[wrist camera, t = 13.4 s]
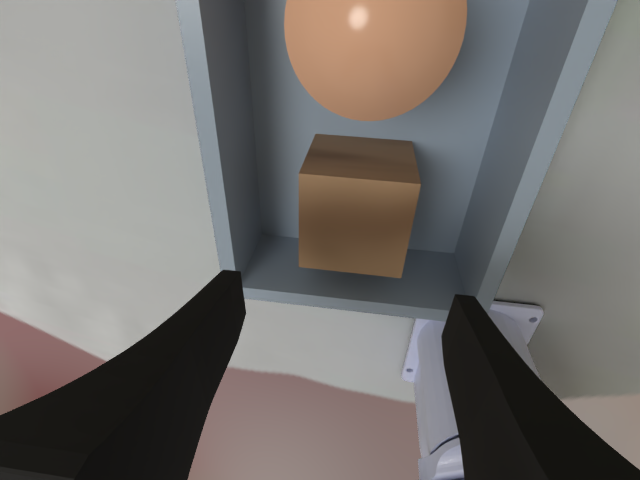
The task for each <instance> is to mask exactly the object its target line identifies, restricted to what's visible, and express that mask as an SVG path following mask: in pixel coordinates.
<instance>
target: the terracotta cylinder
mask: <svg viewBox="0 0 640 480" xmlns="http://www.w3.org/2000/svg"><path fill="white" fill-rule="evenodd" d="M466 21H467V0H287V1H286V7H285V17H284V31H285V41H286V47H287V52H288V55H289V59H290V62H291V64H292V67H293V69H294V71H295V74H296V75H297V77H298V79H299V81H300V82H301V84H302V85H303V87H304V88H305V89H306V91H307V92H308V93H309V94H310V95H311V96H312V97H313V98H314V99H315V100H316V101H317V102H318V103H319V104H321V105H322V106H323V107H325V108H326V109H328V110H330V111H331V112H333V113H335V114H337V115H340V116H342V117H345V118H349V119H353V120H359V121H379V120H385V119H389V118H393V117H396V116H399V115H401V114H404V113H406V112H408V111H410V110H412V109H413V108H415V107H416V106H418V105H419V104H421V103H422V102H424V101H425V100H426V99H427V98H428V97H429V96H430V95H432V94H433V92H434V91H435V90H436V89H437V88H438V87H439V86H440V85H441V83H442V82H443V81H444V79H445V78H446V77H447V75H448V74H449V72H450V70H451V68H452V67H453V65H454V63H455V61H456V58H457V56H458V54H459V51H460V48H461V45H462V42H463V39H464V34H465V28H466Z"/></svg>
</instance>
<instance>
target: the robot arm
mask: <svg viewBox="0 0 640 480" xmlns="http://www.w3.org/2000/svg"><path fill="white" fill-rule="evenodd" d="M245 315H246V309H245V302H244V294H243V286H242V278H241V271H233V270H222V271H221V272H220V273H219V274H218V275H217V276H216V277H215V278H213V279H212V280H211V281H210V282H209V283H208V284H207V285H206V286H205V287H204V288H203V289H202V290H201V291H200V292H198V293H197V294H196V295H195V296H194V297H193V298H192V299H191V300H190V301H188V302H187V303H186V304H185V305H184V306H183V307H182V308H180V309H179V310H178V311H177V312H176V313H175V314H173V315H172V316H171V317H170V318H168V319H167V320H166V321H165V322H164V323H162V324H161V325H160V326H159V327H157V328H156V329H155V330H153V331H152V332H151V333H149V334H148V335H147V336H145V337H144V338H143V339H141V340H140V341H138V342H137V343H136V344H134V345H133V346H131V347H130V348H128V349H127V350H125V351H124V352H122V353H121V354H119V355H117V356H116V357H114V358H112V359H111V360H109V361H107V362H106V363H104V364H102V365H101V366H99V367H97V368H96V369H94V370H92V371H91V372H89V373H87V374H85V375H83V376H82V377H80V378H78V379H76V380H74V381H72V382H71V383H68V384H66V385H65V386H63V387H61V388H59V389H57V390H55V391H53V392H51V393H49V394H47V395H45V396H43V397H40V398H38V399H36V400H34V401H31V402H29V403H27V404H25V405H23V406H21V407H18V408H16V409H14V410H12V411H10V412H7V413H5V414H2V415H0V480H187V479H188V476H189V472H190V468H191V465H192V462H193V459H194V455H195V452H196V449H197V445H198V442H199V439H200V436H201V432H202V429H203V426H204V423H205V420H206V417H207V414H208V411H209V408H210V405H211V403H212V400H213V398H214V395H215V393H216V391H217V388H218V386H219V384H220V382H221V379H222V377H223V374H224V372H225V370H226V368H227V365H228V363H229V361H230V358H231V356H232V354H233V351H234V349H235V347H236V344H237V342H238V339H239V336H240V333H241V329H242V326H243V322H244V319H245ZM543 315H544V312H543V310H542V308H541V307H540V306H536V305H527V304H518V303H508V302H499V301H493V302H492V305H491V307H490V310H489V312H488V314H487V312H486V311H485V310H484V308H483V307H482V306H481V304H480V303H479V302H478V300H477V299H476V298H475V296H469V295H460V294H455V296H454V299H453V302H452V305H451V308H450V311H449V314H448V317H447V320H446V322H444V321H435V320H426V319H418V318H415V322H414V326H413V329H412V333H411V337H410V341H409V345H408V349H407V353H406V357H405V361H404V365H403V369H402V372H401V378H402V379H403V380H404V381H408V382H414V390H415V401H416V411H417V424H418V435H419V446H420V452H421V457H422V458H420V459H419V460H418V466H419V479H420V480H640V470H639V469H638V468H636V467H635V466H634V465H633V464H631V463H630V462H629V461H628V460H626V459H625V458H624V457H623V456H621V455H620V454H619V453H618V452H617V451H616V450H614V449H613V448H612V447H611V446H609V445H608V444H607V443H606V442H605V441H604V440H603V439H601V438H600V437H599V436H598V435H597V434H596V433H595V432H594V431H592V430H591V429H590V428H589V427H588V426H587V425H586V424H585V423H583V422H582V421H581V420H580V419H579V418H578V417H577V416H576V415H575V414H574V413H573V412H572V411H571V410H570V409H569V408H568V407H567V406H566V405H565V404H564V403H563V402H562V401H561V400H560V399H559V398H558V397H557V396H556V395H555V394H554V393H553V392H552V391H551V390H550V389H549V388H548V387H547V386H546V385H545V384H544V383H543V382H542V381H541V379H540V376H539V374H538V371H537V369H536V366H535V364H534V362H533V359H532V357H531V354H530V352H529V349H528V347H527V345H528V343H529V341H530V339H531V337H532V336H533V334H534V332H535V330H536V328H537V326H538V324H539V323H540V321H541V319H542V317H543ZM532 317H534V318H532Z"/></svg>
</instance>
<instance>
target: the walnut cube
mask: <svg viewBox="0 0 640 480" xmlns="http://www.w3.org/2000/svg"><path fill="white" fill-rule="evenodd" d="M420 187H421V181H420V177H419V172H418V167H417V163H416V158H415V153H414V148H413V144H412V141H405V140H392V139H379V138H366V137H353V136H340V135H327V134H315V136H314V138H313V141H312V143H311V145H310V148H309V150H308V153H307V155H306V157H305V160H304V162H303V164H302V167H301V169H300V171H299V267H303V268H312V269H321V270H330V271H339V272H349V273H358V274H367V275H376V276H385V277H394V278H401V277H402V272H403V267H404V263H405V258H406V253H407V248H408V244H409V239H410V234H411V229H412V225H413V220H414V215H415V211H416V206H417V201H418V196H419V192H420Z"/></svg>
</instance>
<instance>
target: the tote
mask: <svg viewBox="0 0 640 480" xmlns="http://www.w3.org/2000/svg"><path fill="white" fill-rule="evenodd" d="M286 1H287V0H176V6H177V12H178V18H179V24H180V30H181V36H182V42H183V48H184V54H185V60H186V66H187V72H188V78H189V84H190V90H191V96H192V102H193V108H194V114H195V120H196V126H197V132H198V138H199V144H200V150H201V156H202V162H203V168H204V174H205V180H206V186H207V192H208V198H209V204H210V210H211V217H212V223H213V229H214V235H215V241H216V247H217V253H218V259H219V265H220V271H222V270H233V271H241V278H242V286H243V294H244V299H253V300H261V301H270V302H279V303H287V304H296V305H305V306H313V307H322V308H331V309H339V310H348V311H357V312H365V313H374V314H383V315H391V316H400V317H409V318H418V319H426V320H435V321H444V322H446V320H447V317H448V314H449V311H450V308H451V305H452V302H453V299H454V296H455V294H460V295H469V296H475V298H476V299H477V300H478V302H479V303H480V304H481V306H482V307H483V308H484V310H485V311H486V312H487V314H488V312H489V310H490V307H491V305H492V302H493V300H494V298H495V295H496V293H497V290H498V288H499V286H500V283H501V281H502V278H503V276H504V273H505V271H506V269H507V266H508V264H509V261H510V259H511V257H512V254H513V252H514V249H515V247H516V245H517V242H518V240H519V237H520V235H521V232H522V230H523V228H524V225H525V223H526V220H527V218H528V216H529V213H530V211H531V208H532V206H533V204H534V201H535V199H536V196H537V194H538V191H539V189H540V187H541V184H542V182H543V179H544V177H545V175H546V172H547V170H548V167H549V165H550V163H551V160H552V158H553V155H554V153H555V150H556V148H557V146H558V143H559V141H560V138H561V136H562V134H563V131H564V129H565V126H566V124H567V122H568V119H569V117H570V114H571V112H572V109H573V107H574V105H575V102H576V100H577V97H578V95H579V93H580V90H581V88H582V85H583V83H584V81H585V78H586V76H587V73H588V71H589V69H590V66H591V64H592V61H593V59H594V56H595V54H596V52H597V49H598V47H599V44H600V42H601V40H602V37H603V35H604V32H605V30H606V28H607V25H608V23H609V20H610V18H611V15H612V13H613V11H614V8H615V6H616V3H617V1H618V0H467V21H466V28H465V34H464V39H463V42H462V45H461V48H460V51H459V54H458V56H457V58H456V61H455V63H454V65H453V67H452V68H451V70H450V72H449V74H448V75H447V77H446V78H445V79H444V81H443V82H442V83H441V85H440V86H439V87H438V88H437V89H436V90H435V91H434V92H433V94H432V95H430V96H429V97H428V98H427V99H426V100H425V101H424V102H422V103H421V104H419V105H418V106H416V107H415V108H413V109H412V110H410V111H408V112H406V113H404V114H401V115H399V116H396V117H393V118H389V119H385V120H379V121H359V120H353V119H349V118H345V117H342V116H340V115H337V114H335V113H333V112H331V111H330V110H328V109H326V108H325V107H323V106H322V105H321V104H319V103H318V102H317V101H316V100H315V99H314V98H313V97H312V96H311V95H310V94H309V93H308V92H307V91H306V89H305V88H304V87H303V85H302V84H301V82H300V81H299V79H298V77H297V75H296V74H295V71H294V69H293V67H292V64H291V62H290V59H289V55H288V52H287V47H286V41H285V31H284V17H285V7H286ZM315 134H327V135H340V136H353V137H366V138H379V139H392V140H405V141H412V144H413V148H414V153H415V158H416V163H417V167H418V172H419V177H420V181H421V187H420V192H419V196H418V201H417V206H416V211H415V215H414V220H413V225H412V229H411V234H410V239H409V244H408V248H407V253H406V258H405V263H404V267H403V272H402V277H401V278H394V277H385V276H376V275H367V274H358V273H349V272H339V271H330V270H321V269H312V268H303V267H299V171H300V169H301V167H302V164H303V162H304V160H305V157H306V155H307V153H308V150H309V148H310V145H311V143H312V141H313V138H314V136H315Z"/></svg>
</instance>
